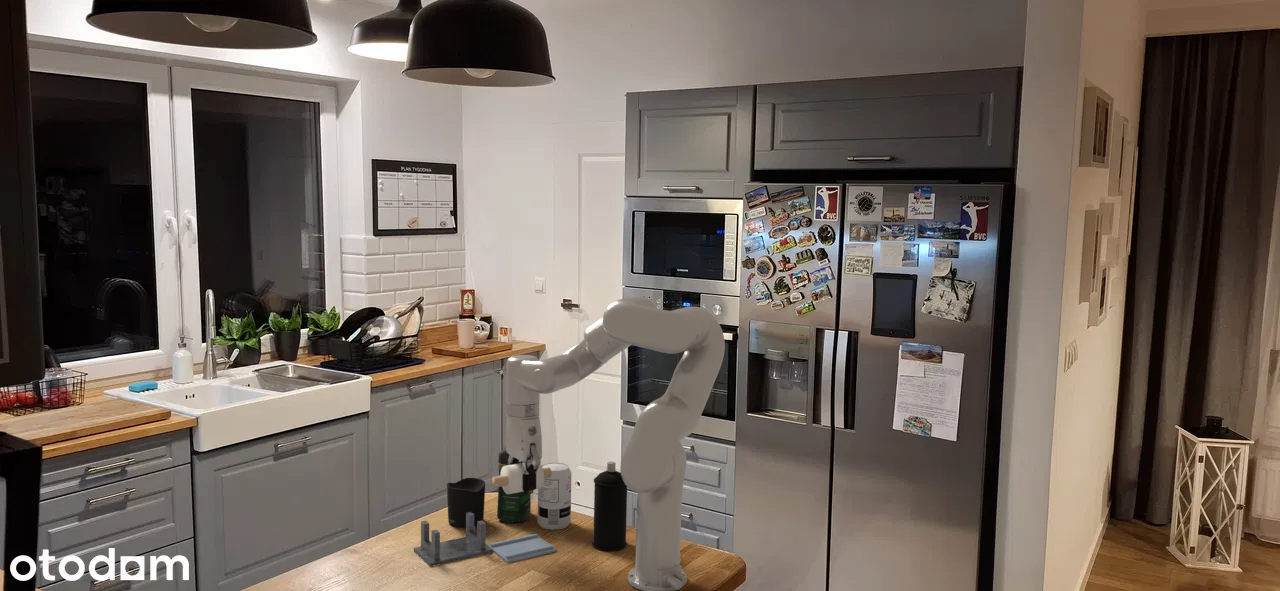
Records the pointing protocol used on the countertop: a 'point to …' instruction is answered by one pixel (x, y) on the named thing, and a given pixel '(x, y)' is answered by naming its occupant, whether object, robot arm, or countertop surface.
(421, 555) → the holder
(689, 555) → the countertop surface
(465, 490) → the pen holder
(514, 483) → the paper roll
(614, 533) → the aerosol can
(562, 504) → the supplement can
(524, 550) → the rest
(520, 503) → the coffee jar
